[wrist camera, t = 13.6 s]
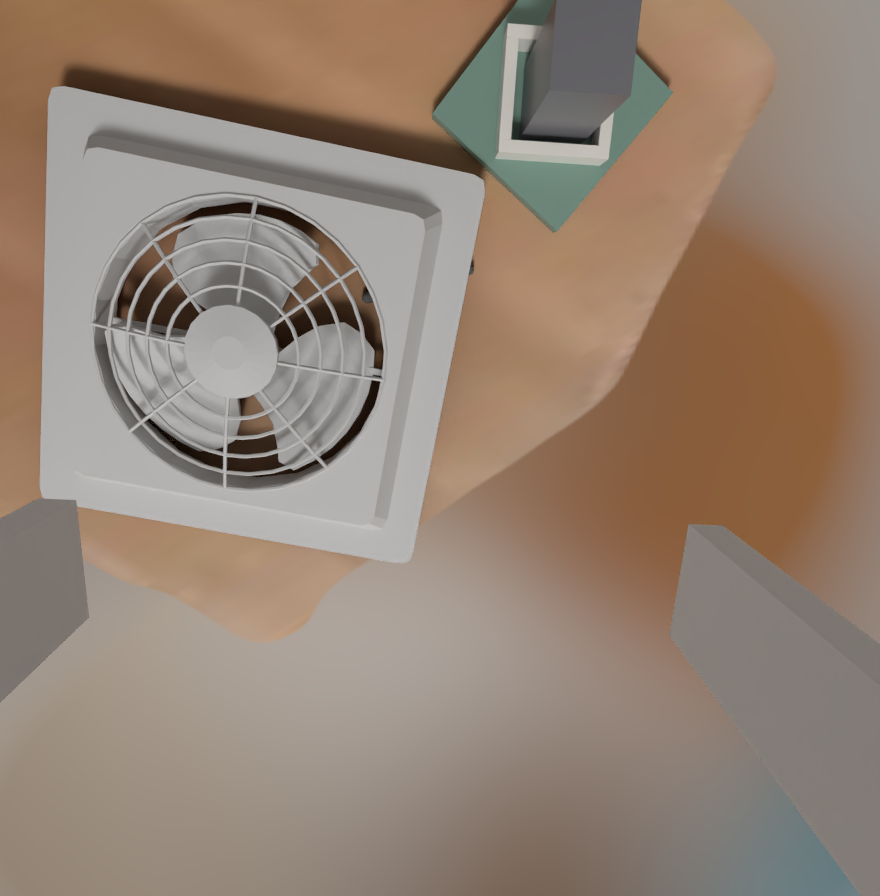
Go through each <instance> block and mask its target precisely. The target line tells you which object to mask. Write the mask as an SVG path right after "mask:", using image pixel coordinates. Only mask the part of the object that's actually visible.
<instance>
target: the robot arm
mask: <svg viewBox="0 0 880 896" xmlns="http://www.w3.org/2000/svg"><path fill="white" fill-rule="evenodd" d="M88 618H89V613H88V604H87V595H86V586H85V577H84V568H83V558H82V549H81V540H80V531H79V521H78V512H77V503H76V500H64V499H37V500H35V501H33V502H31V503H29V504H27V505H25V506H23V507H21V508H19V509H18V510H16V511H14V512H12V513H10V514H8V515H6V516H4V517H2V518H0V702H1V701H2V700H3V699H4V698H5V697H6V696H7V695H8V694H9V693H11V692H12V691H13V690H14V689H15V688H16V687H17V686H18V685H19V684H20V683H21V682H22V681H23V680H24V679H25V678H26V677H27V676H28V675H29V674H30V673H31V672H32V671H33V670H35V669H36V668H37V667H38V666H39V665H40V664H41V663H42V662H43V661H44V660H45V659H46V658H47V657H48V656H49V655H50V654H51V653H52V652H53V651H54V650H55V649H57V647H59V645H61V644H62V643H63V642H64V641H65V640H66V639H67V638H68V637H69V636H70V635H71V634H72V633H73V632H74V631H75V630H76V629H77V628H78V627H79V626H80V625H82V624H83V623H84V622H85V621H86V620H87V619H88ZM670 637H671V638H672V639H673V641H674V642H675V643H676V645H677V646H678V648H679V649H680V650H681V652H682V653H683V654H684V656H685V657H686V658H687V660H688V661H689V662H690V664H691V665H692V667H693V668H694V669H695V671H696V672H697V674H698V675H699V676H700V678H701V679H702V680H703V682H704V683H705V684H706V686H707V687H708V688H709V690H710V691H711V692H712V694H713V695H714V696H715V698H716V699H717V701H718V702H719V703H720V705H721V706H722V708H723V709H724V710H725V711H726V713H727V714H728V716H729V717H730V718H731V720H732V721H733V722H734V724H735V725H736V727H737V728H738V729H739V730H740V732H741V733H742V735H743V736H744V737H745V739H746V740H747V741H748V743H749V744H750V746H751V747H752V748H753V750H754V751H755V752H756V754H757V755H758V757H759V758H760V759H761V760H762V762H763V763H764V765H765V766H766V767H767V769H768V770H769V772H770V773H771V774H772V776H773V777H774V778H775V780H776V781H777V782H778V784H779V785H780V787H781V788H782V789H783V791H784V792H785V793H786V795H787V796H788V797H789V799H790V800H791V801H792V803H793V804H794V805H795V807H796V808H797V810H798V811H799V812H800V814H801V815H802V816H803V818H804V819H805V821H806V822H807V823H808V825H809V826H810V827H811V829H812V830H813V831H814V832H815V834H816V835H817V837H818V838H819V840H820V841H821V842H822V844H823V845H824V846H825V847H826V849H827V850H828V852H829V853H830V854H831V856H832V857H833V859H834V860H835V861H836V863H837V864H838V865H839V867H840V868H841V869H842V871H843V872H844V874H845V875H846V876H847V877H848V879H849V880H850V881H851V883H852V884H853V886H854V887H855V889H856V890H857V891H858V892H859V894H860V895H861V896H880V644H879V643H878V642H876V641H875V640H874V639H872V638H871V637H870V636H868V635H867V634H866V633H864V632H863V631H862V630H860V629H859V628H858V627H856V626H855V625H854V624H852V623H851V622H850V621H848V620H847V619H846V618H844V617H843V616H841V615H840V614H839V613H838V612H837V611H835V610H834V609H833V608H831V607H830V606H828V605H827V604H826V603H824V602H823V601H822V600H821V599H819V598H818V597H816V596H815V595H814V594H813V593H811V592H810V591H809V590H807V589H806V588H805V587H803V586H802V585H801V584H799V583H798V582H796V581H795V580H794V579H793V578H791V577H790V576H789V575H787V574H786V573H785V572H783V571H782V570H781V569H779V568H778V567H777V566H776V565H774V564H773V563H772V562H770V561H769V560H768V559H766V558H765V557H764V556H762V555H761V554H759V553H758V552H757V551H756V550H754V549H753V548H752V547H750V546H749V545H748V544H746V543H745V542H744V541H742V540H741V539H740V538H739V537H737V536H736V535H735V534H733V533H732V532H731V531H729V530H728V529H726V528H725V527H724V526H719V525H717V526H716V525H694V524H693V525H692V524H689V526H688V532H687V537H686V544H685V550H684V555H683V561H682V567H681V572H680V578H679V584H678V590H677V595H676V601H675V607H674V613H673V619H672V624H671V630H670Z"/></svg>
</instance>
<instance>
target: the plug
mask: <svg viewBox="0 0 880 896" xmlns="http://www.w3.org/2000/svg"><path fill="white" fill-rule="evenodd" d="M641 2H642V0H554V2H553V4H552V7H551V9H550V11H549V13H548V16H547V18H546V20H545V22H544V25H543V27H542V29H541V31H540V34H539V36H538V38H537V40H536V43H535V45H534V47H533V49H532V52H531V54H530V56H529V58H528V61H527V63H526V65H525V67H524V79H523V93H522V107H521V120H520V134H519V140H536V141H553V142H571V143H582V142H583V141H585V140H586V139H587V138H588V137H589V136H590V135H591V134H592V133H593V132H594V131H595V130H596V129H597V128H598V127H599V126H600V125H601V124H602V123H603V122H604V121H605V120H606V119H607V118H608V117H609V116H610V115H611V114H612V113H613V112H614V111H615V110H616V109H617V108H619V107H620V106H621V105H622V104H623V103H624V102H625V101H626V100H627V99H628V98H629V97H630V96H631V90H632V81H633V73H634V64H635V55H636V46H637V37H638V29H639V20H640V11H641Z"/></svg>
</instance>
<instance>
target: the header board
mask: <svg viewBox="0 0 880 896" xmlns="http://www.w3.org/2000/svg"><path fill="white" fill-rule="evenodd" d="M553 2H554V0H518V1H517V3H516V4H515V5H514V7H513V8H512V9H511V10H510V12H509V13H508V14H507V16H506V17H505V18H504V20H503V21H502V22H501V24H500V25H499V26H498V28H497V29H496V30H495V32H494V33H493V34H492V36H491V37H490V38H489V39H488V41H487V42H486V43H485V45H484V46H483V47H482V49H481V50H480V51H479V53H478V54H477V55H476V57H475V58H474V59H473V61H472V62H471V63H470V65H469V66H468V67H467V68H466V70H465V71H464V72H463V74H462V75H461V76H460V78H459V79H458V80H457V82H456V83H455V84H454V86H453V87H452V88H451V90H450V91H449V92H448V94H447V95H446V96H445V97H444V99H443V100H442V101H441V103H440V104H439V105H438V107H437V108H436V109H435V111H434V112H433V113H432V119H433V120H434V121H435V122H436V123H437V124H438V125H440V126H441V127H442V128H443V129H444V130H445V131H446V132H447V133H448V134H449V135H450V136H451V137H452V138H453V139H454V140H455V141H457V142H458V143H459V144H460V145H461V146H462V147H463V148H464V149H465V150H466V151H467V152H468V153H469V154H470V155H471V156H472V157H473V158H475V159H476V160H477V161H478V162H479V163H480V164H481V165H482V166H483V167H484V168H485V169H486V170H487V171H488V172H489V173H490V174H492V175H493V176H494V177H495V178H496V179H497V180H498V181H499V182H500V183H501V184H502V185H503V186H504V187H505V188H506V189H507V190H509V191H510V192H511V193H512V194H513V195H514V196H515V197H516V198H517V199H518V200H519V201H520V202H521V203H522V204H523V205H524V206H526V207H527V208H528V209H529V210H530V211H531V212H532V213H533V214H534V215H535V216H536V217H537V218H538V219H539V220H540V221H541V222H543V223H544V224H545V225H546V226H547V227H548V228H549V229H550V230H551V231H552V232H553V233H554V232H556V231H558V230H559V228H560V227H561V226H562V225H563V224H564V222H565V221H566V220H567V219H568V218H569V216H570V215H571V214H572V213H573V212H574V210H575V209H576V208H577V207H578V206H579V204H580V203H581V202H582V201H583V200H584V198H585V197H586V196H587V195H588V194H589V193H590V191H591V190H592V189H593V188H594V187H595V185H596V184H597V183H598V182H599V181H600V179H601V178H602V177H603V176H604V175H605V173H606V172H607V171H608V170H609V169H610V167H611V166H612V165H613V164H614V163H615V161H616V160H617V159H618V158H619V157H620V155H621V154H622V153H623V152H624V151H625V150H626V148H627V147H628V146H629V145H630V144H631V142H632V141H633V140H634V139H635V138H636V136H637V135H638V134H639V133H640V132H641V130H642V129H643V128H644V127H645V126H646V124H647V123H648V122H649V121H650V120H651V118H652V117H653V116H654V115H655V114H656V113H657V111H658V110H659V109H660V108H661V107H662V105H663V104H664V103H665V102H666V101H667V99H668V98H669V97H670V96H671V95H672V93H673V92H672V91H671V90H670V89H669V88H668V87H667V86H666V85H665V83H664V82H663V81H662V80H661V79H660V78H659V77H658V76H657V75H656V74H655V73H654V72H653V71H652V70H651V69H650V68H649V67H648V65H647V64H646V63H645V62H644V61H643V60H642V59H641V58H640V57H639V56H638V55H637V54H636V55H635V64H634V73H633V81H632V90H631V96H630V97H629V98H628V99H627V100H626V101H625V102H624V103H623V104H622V105H621V106H620V107H619V108H617V109H616V110H615V111H614V112H613V113H612V114H611V115H610V116H609V117H608V118H607V119H606V120H605V121H604V122H603V123H602V124H601V125H600V126H599V127H598V128H597V129H596V130H595V131H594V132H593V133H592V134H591V135H590V136H589V137H588V138H587V139H586V140H585V141H583V142H582V143H571V142H553V141H536V140H519V134H520V120H521V107H522V93H523V79H524V67H525V65H526V63H527V61H528V58H529V56H530V54H531V52H532V49H533V47H534V45H535V43H536V40H537V38H538V36H539V34H540V31H541V29H542V27H543V25H544V22H545V20H546V18H547V16H548V13H549V11H550V9H551V7H552V4H553Z"/></svg>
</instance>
